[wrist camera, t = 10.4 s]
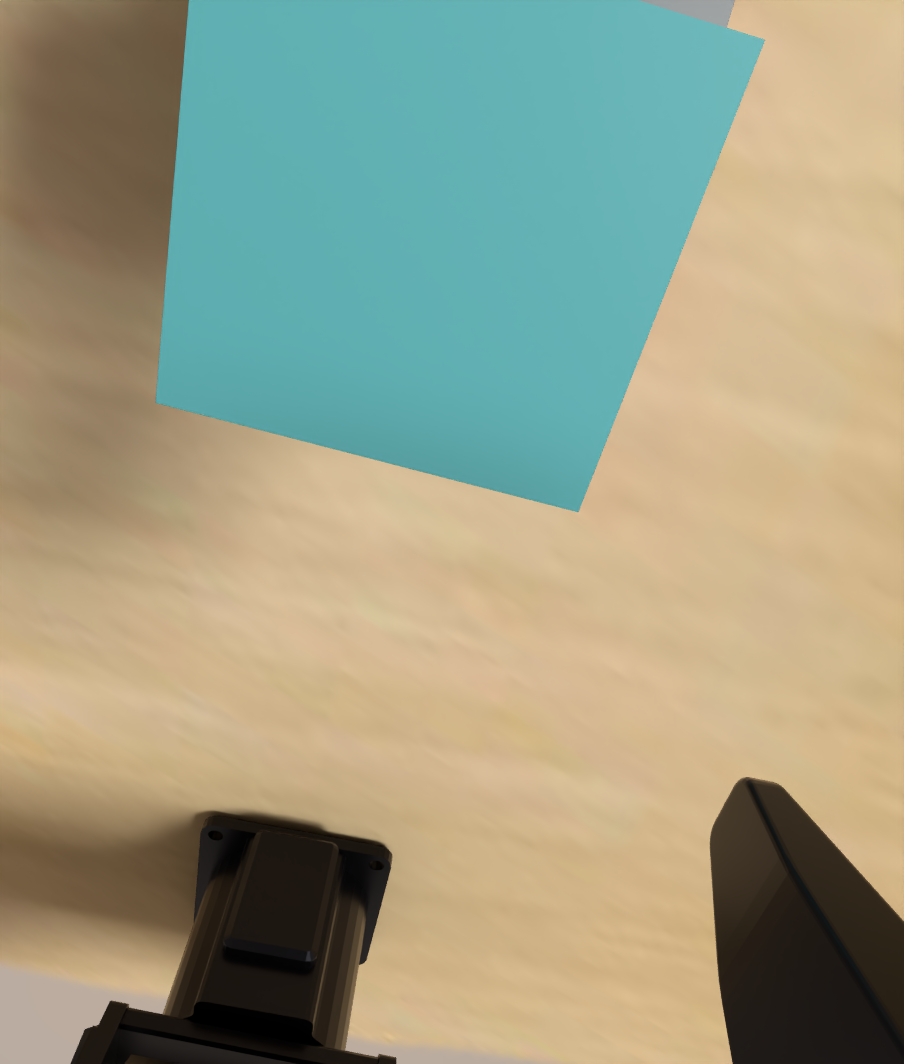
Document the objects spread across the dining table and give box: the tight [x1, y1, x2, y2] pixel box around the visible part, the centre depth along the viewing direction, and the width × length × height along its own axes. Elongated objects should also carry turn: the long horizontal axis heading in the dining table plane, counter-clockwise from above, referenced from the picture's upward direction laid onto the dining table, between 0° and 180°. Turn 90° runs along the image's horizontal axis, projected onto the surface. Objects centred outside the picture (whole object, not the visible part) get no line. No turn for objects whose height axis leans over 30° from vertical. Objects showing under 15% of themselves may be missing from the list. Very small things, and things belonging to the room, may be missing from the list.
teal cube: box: [156, 0, 765, 512], centre depth 11 cm, size 5×5×5 cm
